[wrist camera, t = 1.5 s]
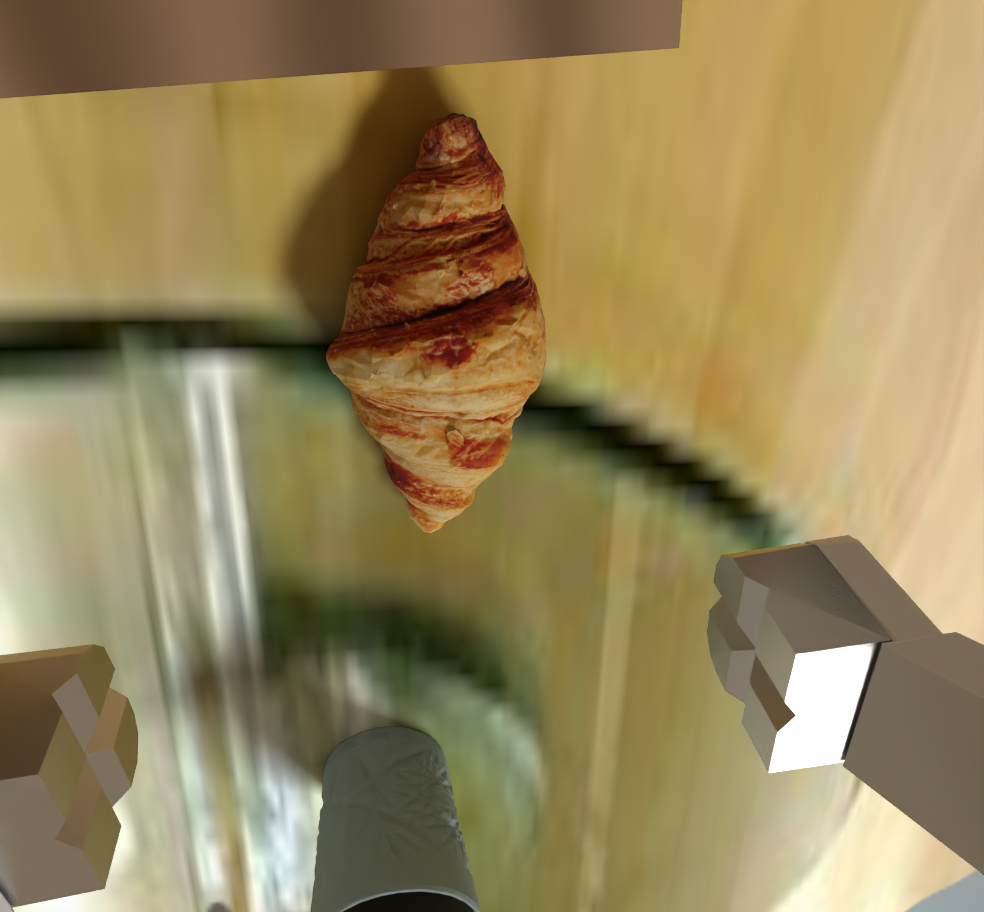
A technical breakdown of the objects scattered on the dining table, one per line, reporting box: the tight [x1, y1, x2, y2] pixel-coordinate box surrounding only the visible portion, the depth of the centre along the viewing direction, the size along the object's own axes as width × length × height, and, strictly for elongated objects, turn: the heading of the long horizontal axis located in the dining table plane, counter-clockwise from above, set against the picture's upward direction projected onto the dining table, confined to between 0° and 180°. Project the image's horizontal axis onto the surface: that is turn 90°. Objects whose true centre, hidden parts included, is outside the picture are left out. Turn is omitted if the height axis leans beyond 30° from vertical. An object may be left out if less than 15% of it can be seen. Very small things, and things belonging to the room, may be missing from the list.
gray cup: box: [311, 727, 481, 912], centre depth 50 cm, size 10×10×12 cm
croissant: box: [326, 113, 546, 533], centre depth 37 cm, size 21×10×8 cm, turn 176°
